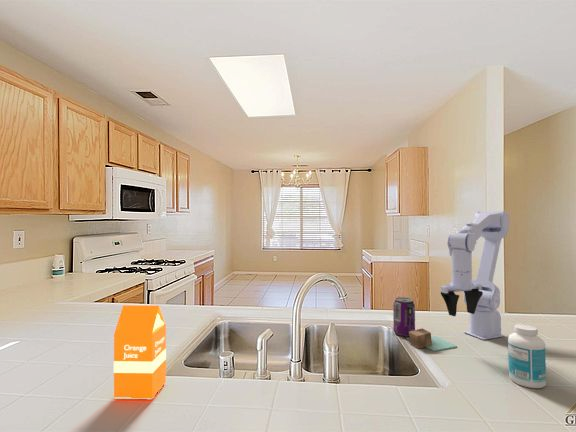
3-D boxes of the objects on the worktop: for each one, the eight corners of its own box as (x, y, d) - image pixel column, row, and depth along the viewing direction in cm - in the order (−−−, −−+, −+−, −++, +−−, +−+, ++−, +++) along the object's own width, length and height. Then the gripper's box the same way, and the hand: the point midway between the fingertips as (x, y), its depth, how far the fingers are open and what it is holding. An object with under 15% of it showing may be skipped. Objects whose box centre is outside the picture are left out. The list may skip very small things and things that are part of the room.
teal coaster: (435, 337, 111) (435, 336, 111) (457, 347, 103) (457, 346, 103) (413, 340, 108) (413, 339, 108) (433, 351, 100) (433, 349, 100)
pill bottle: (539, 377, 83) (538, 323, 83) (551, 392, 76) (551, 333, 76) (504, 373, 86) (504, 320, 86) (513, 386, 79) (513, 330, 79)
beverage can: (416, 338, 111) (416, 302, 111) (394, 336, 112) (394, 301, 112) (413, 331, 118) (413, 297, 118) (392, 329, 119) (392, 296, 119)
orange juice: (130, 382, 81) (130, 301, 82) (166, 383, 81) (166, 301, 81) (113, 400, 74) (113, 310, 74) (152, 400, 73) (152, 310, 73)
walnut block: (422, 328, 107) (408, 331, 105) (430, 332, 103) (416, 336, 102) (423, 340, 107) (410, 344, 106) (432, 345, 103) (418, 348, 102)
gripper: (468, 268, 110) (468, 308, 110) (433, 270, 106) (433, 312, 106) (487, 271, 104) (487, 314, 104) (451, 273, 99) (451, 319, 99)
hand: (461, 314), depth 104 cm, fingers open, 7 cm apart
